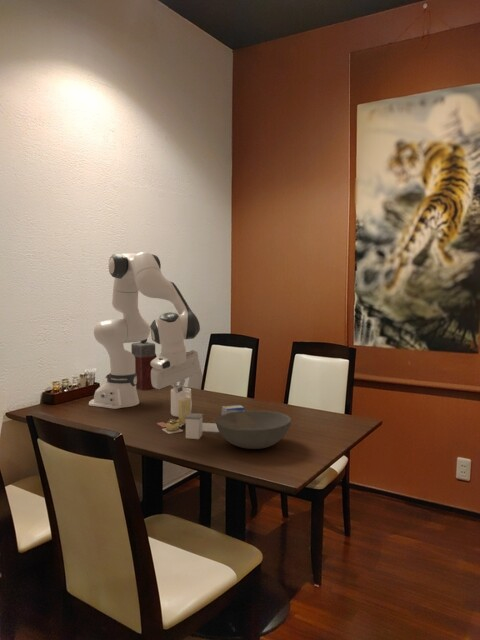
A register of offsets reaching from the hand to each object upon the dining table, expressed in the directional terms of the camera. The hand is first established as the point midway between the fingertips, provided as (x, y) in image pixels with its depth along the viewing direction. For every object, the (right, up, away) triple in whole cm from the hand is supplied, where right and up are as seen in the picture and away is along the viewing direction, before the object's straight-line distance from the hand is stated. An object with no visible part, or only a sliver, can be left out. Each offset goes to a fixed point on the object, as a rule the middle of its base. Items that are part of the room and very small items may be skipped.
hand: (179, 391), depth 193 cm
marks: (-5, -15, +9) cm, 18 cm away
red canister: (-27, -9, +77) cm, 82 cm away
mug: (-1, -14, +26) cm, 30 cm away
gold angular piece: (-1, -15, +9) cm, 17 cm away
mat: (+11, -15, +9) cm, 21 cm away
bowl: (+27, -18, -10) cm, 34 cm away
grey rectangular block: (+6, -16, -1) cm, 17 cm away
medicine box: (+20, -16, +8) cm, 26 cm away
